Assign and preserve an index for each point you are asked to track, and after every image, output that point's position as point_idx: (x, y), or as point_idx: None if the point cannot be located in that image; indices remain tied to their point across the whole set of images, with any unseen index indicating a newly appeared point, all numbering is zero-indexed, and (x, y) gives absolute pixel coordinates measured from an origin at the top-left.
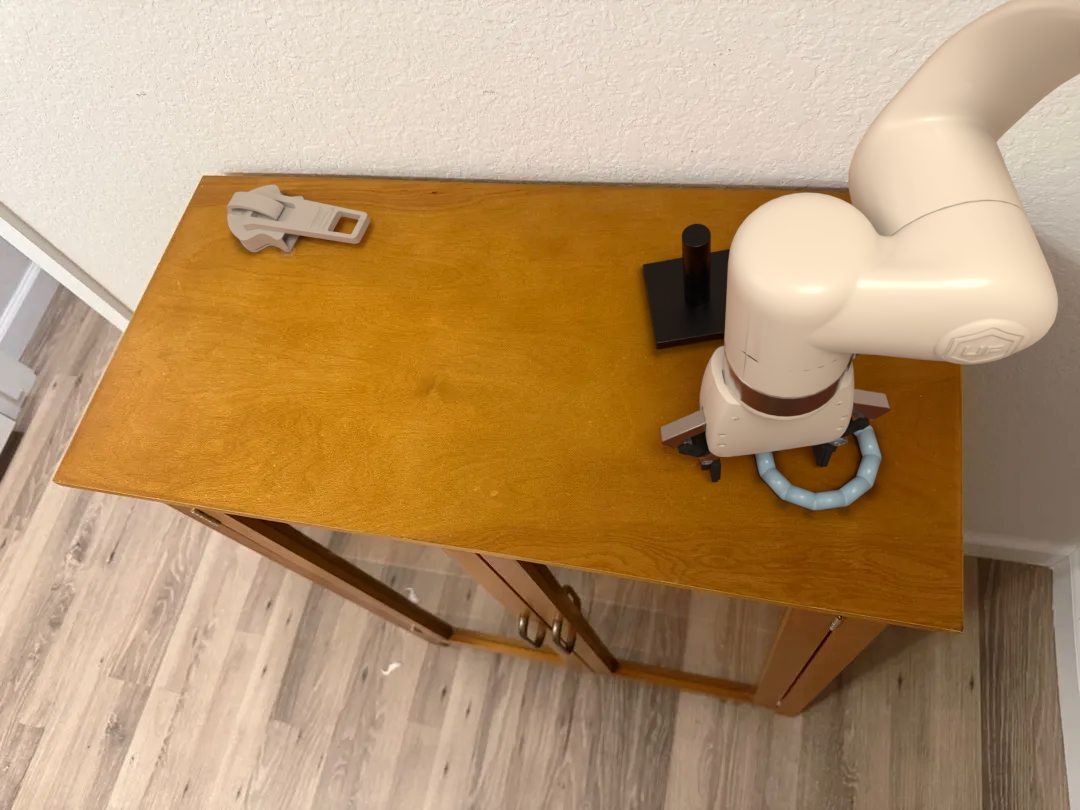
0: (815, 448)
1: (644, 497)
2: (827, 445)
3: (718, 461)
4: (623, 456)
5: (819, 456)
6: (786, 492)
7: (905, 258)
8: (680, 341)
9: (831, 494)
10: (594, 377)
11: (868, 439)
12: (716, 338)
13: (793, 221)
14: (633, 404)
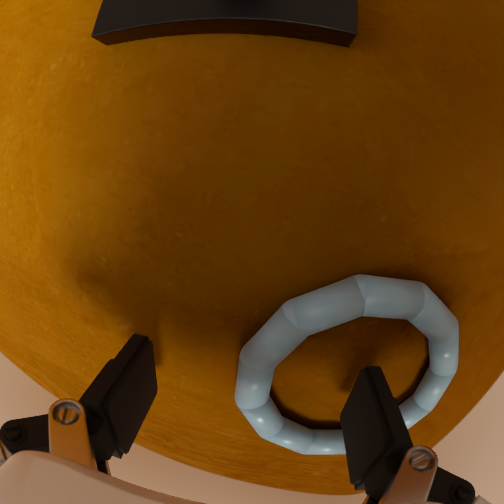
0: (352, 415)
1: (60, 342)
2: (362, 486)
3: (120, 450)
4: (30, 270)
5: (347, 441)
6: (266, 438)
7: None
8: (147, 29)
9: (333, 449)
10: (11, 108)
11: (439, 390)
12: (244, 30)
13: None
14: (42, 171)
